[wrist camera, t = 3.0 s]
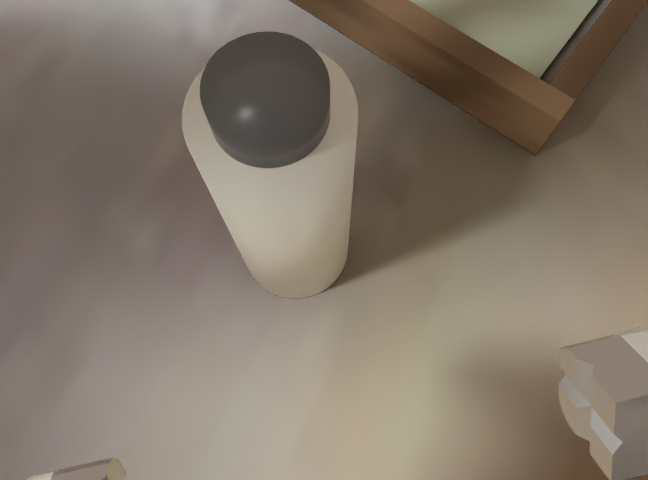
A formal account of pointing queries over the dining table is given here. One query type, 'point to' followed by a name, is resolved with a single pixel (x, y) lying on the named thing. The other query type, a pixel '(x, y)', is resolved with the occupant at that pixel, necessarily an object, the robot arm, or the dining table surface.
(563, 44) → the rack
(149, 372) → the dining table surface
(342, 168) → the white capped tube
